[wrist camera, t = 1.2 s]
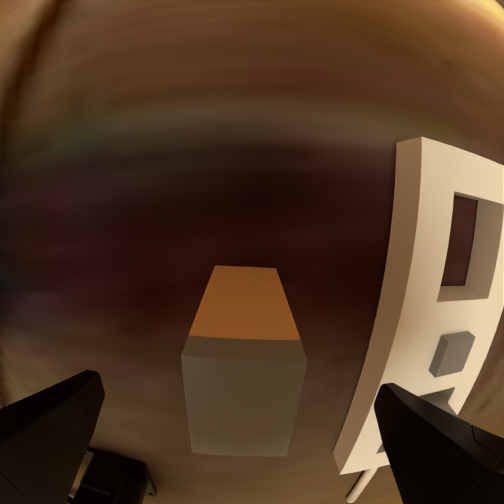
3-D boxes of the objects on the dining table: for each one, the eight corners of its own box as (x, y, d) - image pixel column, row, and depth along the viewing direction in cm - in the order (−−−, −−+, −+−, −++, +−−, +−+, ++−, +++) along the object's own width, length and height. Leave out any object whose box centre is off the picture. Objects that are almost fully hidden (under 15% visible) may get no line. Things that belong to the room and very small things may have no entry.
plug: (269, 338, 15) (287, 456, 7) (214, 336, 15) (192, 452, 7) (276, 268, 14) (307, 360, 6) (215, 265, 14) (180, 355, 6)
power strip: (385, 489, 20) (393, 509, 17) (308, 503, 20) (312, 527, 17) (497, 173, 13) (531, 175, 10) (396, 142, 13) (431, 134, 10)
